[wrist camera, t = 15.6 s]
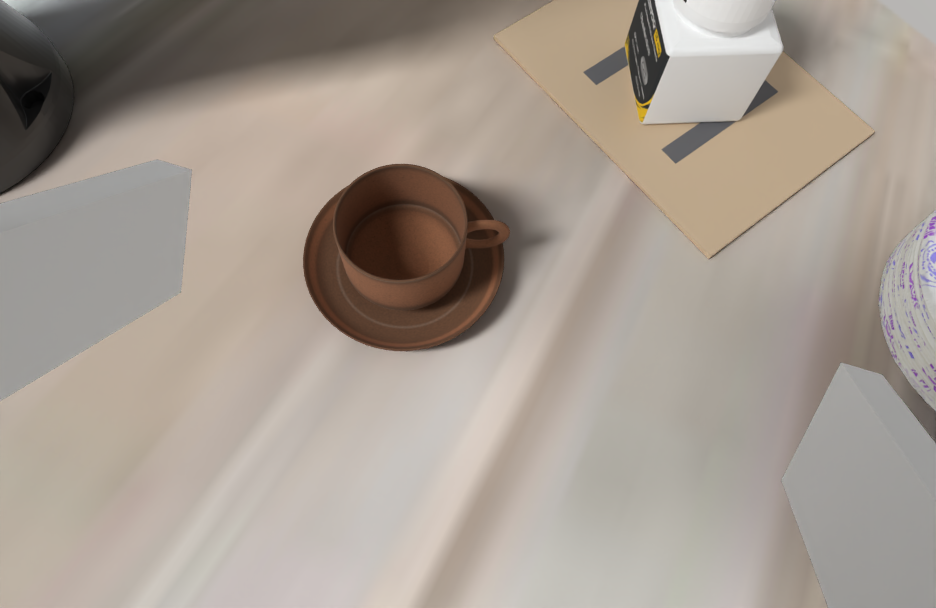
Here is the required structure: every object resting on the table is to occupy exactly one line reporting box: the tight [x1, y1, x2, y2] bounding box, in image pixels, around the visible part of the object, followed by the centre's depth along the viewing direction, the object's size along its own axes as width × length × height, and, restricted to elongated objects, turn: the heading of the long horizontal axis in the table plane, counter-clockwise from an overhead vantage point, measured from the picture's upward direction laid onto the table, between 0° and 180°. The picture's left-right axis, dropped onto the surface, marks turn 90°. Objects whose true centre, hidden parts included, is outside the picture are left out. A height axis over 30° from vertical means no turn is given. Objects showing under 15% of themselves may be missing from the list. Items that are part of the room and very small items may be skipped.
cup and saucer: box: [303, 164, 510, 351], centre depth 42 cm, size 12×12×6 cm
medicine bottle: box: [625, 0, 783, 124], centre depth 45 cm, size 7×7×12 cm
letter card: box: [494, 0, 875, 259], centre depth 51 cm, size 22×16×1 cm
